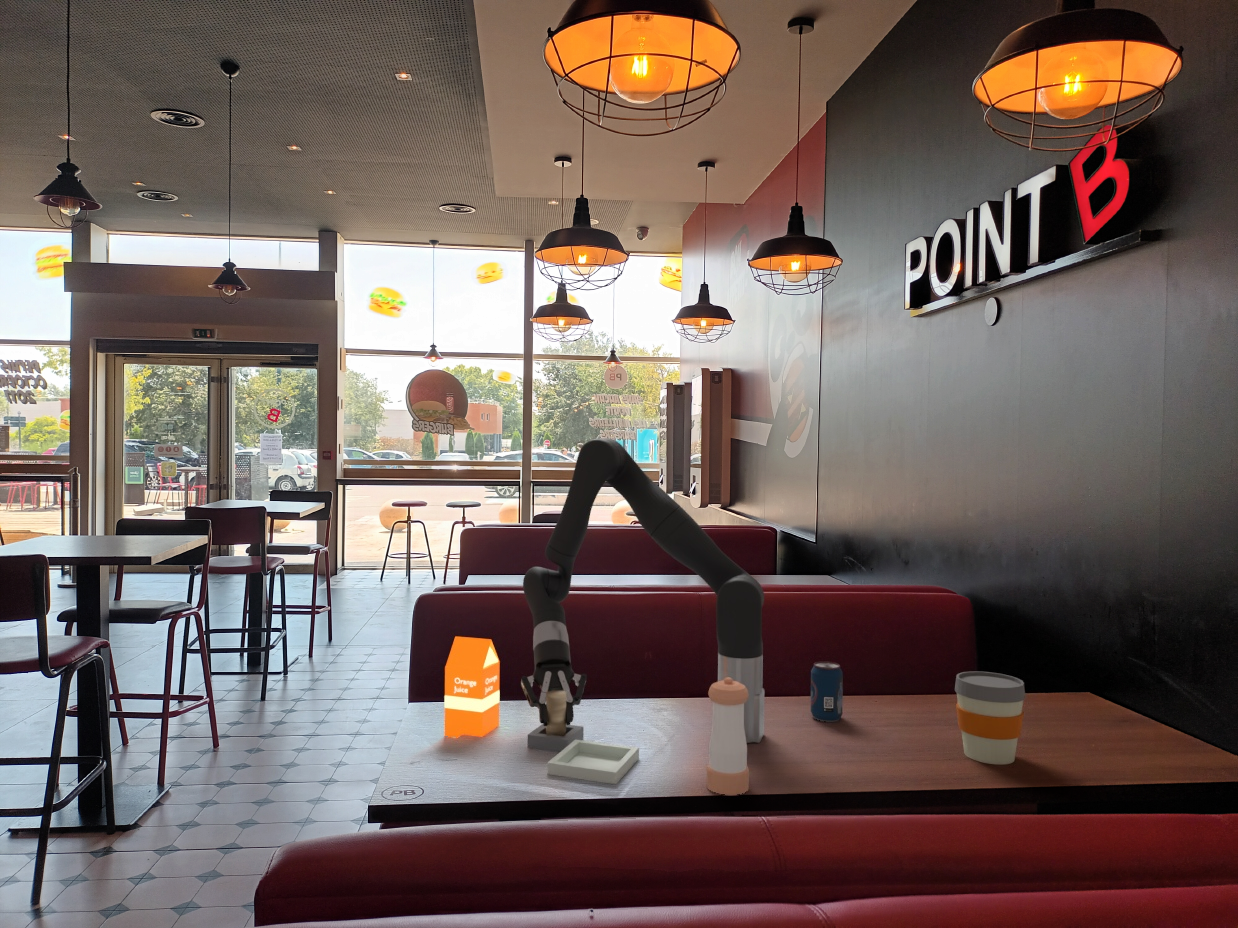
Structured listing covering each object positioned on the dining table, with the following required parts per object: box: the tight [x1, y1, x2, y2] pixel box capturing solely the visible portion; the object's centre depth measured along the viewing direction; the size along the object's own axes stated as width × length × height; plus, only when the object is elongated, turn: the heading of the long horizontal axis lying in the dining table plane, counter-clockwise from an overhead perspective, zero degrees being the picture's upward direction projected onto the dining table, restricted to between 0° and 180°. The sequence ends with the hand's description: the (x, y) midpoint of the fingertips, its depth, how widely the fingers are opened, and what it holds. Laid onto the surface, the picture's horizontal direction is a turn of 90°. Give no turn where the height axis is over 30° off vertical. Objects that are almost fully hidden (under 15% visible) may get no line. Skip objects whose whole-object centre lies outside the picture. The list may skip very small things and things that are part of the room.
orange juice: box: [444, 636, 501, 739], centre depth 166 cm, size 8×9×20 cm
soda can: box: [810, 661, 844, 723], centre depth 178 cm, size 7×7×12 cm
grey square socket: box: [526, 723, 584, 753], centre depth 158 cm, size 8×8×4 cm
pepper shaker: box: [706, 677, 750, 796], centre depth 139 cm, size 7×7×19 cm
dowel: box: [545, 690, 566, 736], centre depth 158 cm, size 4×4×10 cm
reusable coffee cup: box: [954, 670, 1026, 765], centre depth 156 cm, size 13×13×15 cm
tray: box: [546, 739, 640, 785], centre depth 146 cm, size 13×13×3 cm
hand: (557, 723), depth 156 cm, fingers closed on dowel, 4 cm apart
